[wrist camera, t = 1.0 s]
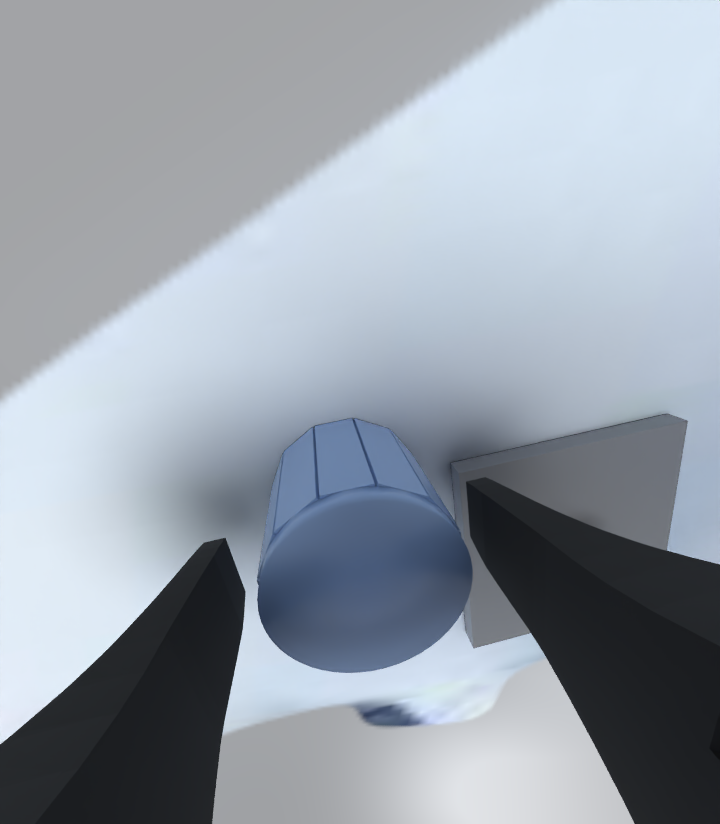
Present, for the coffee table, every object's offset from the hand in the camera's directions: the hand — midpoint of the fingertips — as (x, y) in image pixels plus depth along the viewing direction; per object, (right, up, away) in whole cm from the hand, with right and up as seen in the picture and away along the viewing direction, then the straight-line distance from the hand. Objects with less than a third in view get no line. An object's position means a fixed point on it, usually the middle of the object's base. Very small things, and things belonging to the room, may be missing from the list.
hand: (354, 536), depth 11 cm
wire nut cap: (0, +1, +3) cm, 3 cm away
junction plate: (+9, -2, +5) cm, 10 cm away
